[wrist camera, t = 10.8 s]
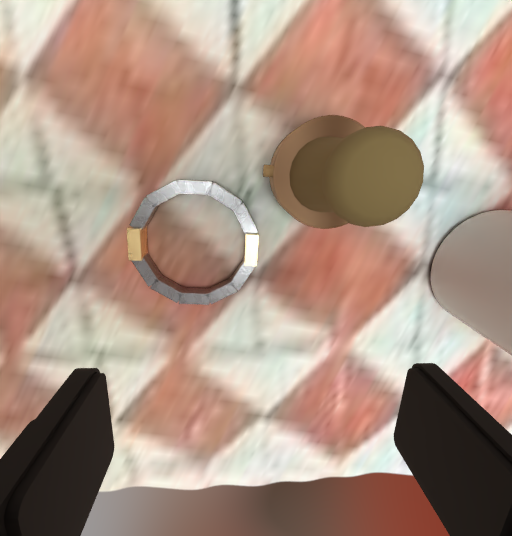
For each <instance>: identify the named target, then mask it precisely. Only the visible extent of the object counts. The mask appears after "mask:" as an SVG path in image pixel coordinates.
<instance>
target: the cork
mask: <svg viewBox="0 0 512 536" xmlns="http://www.w3.org/2000/svg"><path fill="white" fill-rule="evenodd" d="M423 172H424V165H423V161H422V157H421V153H420V151H419V149H418V148H417V146H416V145H415V143H414V141H413V140H412V139H411V138H409V137H408V136H407V135H405V134H404V133H403V132H401V131H399V130H396V129H392V128H388V127H384V126H375V127H366V128H363V129H361V130H358V131H356V132H354V133H352V134H350V135H348V136H346V137H345V138H339V137H331V136H329V137H319V138H316V139H314V140H312V141H310V142H308V143H307V144H305V145H304V146H303V147H302V148H301V149H300V150H299V151H298V153H297V154H296V156H295V158H294V159H293V161H292V165H291V169H290V173H289V175H290V186H291V189H292V191H293V194H294V196H295V197H296V199H297V200H298V201H299V202H300V203H301V205H303V206H305V207H306V208H308V209H310V210H313V211H317V212H334V213H335V214H336V215H337V216H339V217H340V218H342V219H343V220H345V221H347V222H348V223H350V224H353V225H358V226H363V227H369V226H378V225H384V224H386V223H388V222H391V221H393V220H395V219H397V218H398V217H400V216H401V215H402V214H403V213H405V212H406V211H407V210H408V209H409V208H410V206H411V205H412V204H413V202H414V201H415V199H416V198H417V197H418V194H419V191H420V188H421V186H422V183H423Z"/></svg>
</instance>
